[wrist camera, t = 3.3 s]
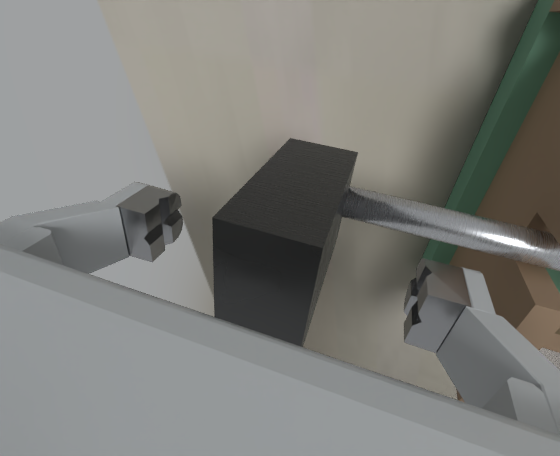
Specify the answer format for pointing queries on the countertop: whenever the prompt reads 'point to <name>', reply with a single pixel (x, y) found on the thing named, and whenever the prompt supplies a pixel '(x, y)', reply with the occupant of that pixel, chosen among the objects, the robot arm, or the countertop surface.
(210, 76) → the countertop surface
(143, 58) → the countertop surface
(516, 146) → the pitch
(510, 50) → the countertop surface
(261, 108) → the countertop surface
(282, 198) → the rod
